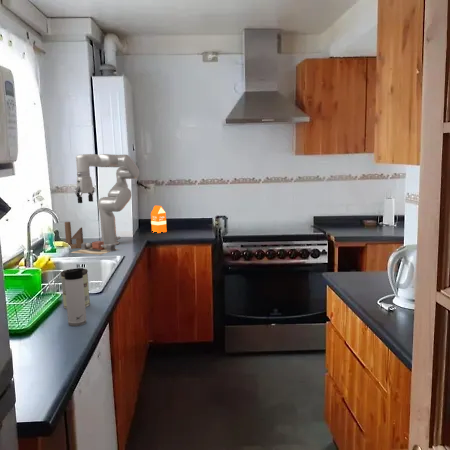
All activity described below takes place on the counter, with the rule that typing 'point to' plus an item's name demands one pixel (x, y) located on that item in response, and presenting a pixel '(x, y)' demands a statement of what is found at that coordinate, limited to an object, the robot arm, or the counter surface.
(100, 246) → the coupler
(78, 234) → the brown long handled part
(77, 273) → the travel mug
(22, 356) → the counter surface
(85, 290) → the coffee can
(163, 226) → the orange juice
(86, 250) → the jig
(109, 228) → the robot arm
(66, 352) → the counter surface
